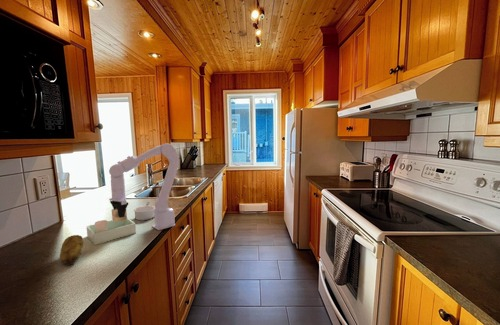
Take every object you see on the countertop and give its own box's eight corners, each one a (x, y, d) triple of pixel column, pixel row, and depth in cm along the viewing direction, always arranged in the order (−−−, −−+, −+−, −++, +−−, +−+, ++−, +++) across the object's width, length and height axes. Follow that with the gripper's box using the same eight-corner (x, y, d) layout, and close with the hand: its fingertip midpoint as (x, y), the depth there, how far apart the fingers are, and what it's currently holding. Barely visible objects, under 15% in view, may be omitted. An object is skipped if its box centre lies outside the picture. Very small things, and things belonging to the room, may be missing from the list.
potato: (48, 269, 80) (46, 248, 80) (69, 251, 93) (67, 233, 92) (75, 266, 82) (73, 246, 81) (91, 249, 95) (90, 231, 94)
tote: (126, 225, 120) (125, 216, 119) (135, 233, 111) (135, 223, 110) (87, 236, 107) (86, 226, 107) (94, 245, 98) (93, 234, 98)
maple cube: (123, 216, 115) (122, 207, 114) (126, 219, 111) (126, 209, 111) (112, 219, 111) (111, 209, 110) (115, 221, 108) (114, 211, 107)
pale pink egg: (106, 233, 110) (105, 219, 109) (109, 236, 106) (108, 222, 105) (94, 236, 106) (93, 222, 105) (97, 239, 103) (96, 225, 102)
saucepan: (158, 209, 148) (158, 201, 147) (154, 220, 129) (154, 210, 128) (139, 211, 144) (138, 202, 144) (132, 222, 125) (131, 212, 125)
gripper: (104, 187, 112) (106, 214, 113) (113, 192, 102) (115, 221, 103) (120, 185, 117) (121, 210, 118) (130, 190, 107) (132, 217, 108)
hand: (119, 215), depth 111 cm, fingers closed on maple cube, 5 cm apart
